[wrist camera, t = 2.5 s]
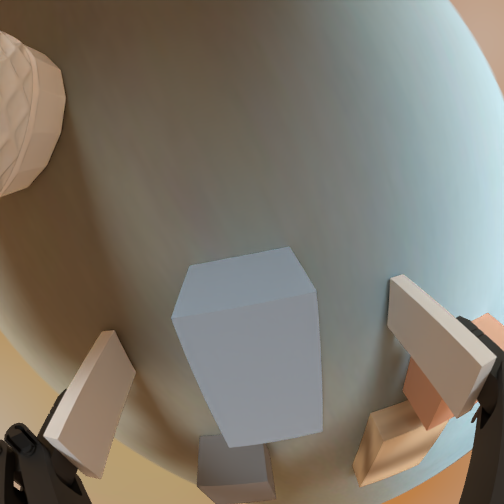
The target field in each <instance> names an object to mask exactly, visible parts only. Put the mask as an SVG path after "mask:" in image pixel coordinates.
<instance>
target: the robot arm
mask: <svg viewBox="0 0 504 504" xmlns="http://www.w3.org/2000/svg"><path fill="white" fill-rule="evenodd" d="M387 327H388V328H389V329H390V330H391V331H392V333H393V334H394V335H395V336H396V338H397V339H398V340H399V342H400V343H401V344H402V345H403V347H404V348H405V349H406V350H407V352H408V353H409V354H410V356H411V357H412V358H413V360H414V361H415V362H416V363H417V365H418V366H419V367H420V369H421V370H422V371H423V373H424V374H425V375H426V377H427V378H428V379H429V381H430V382H431V384H432V385H433V386H434V388H435V389H436V390H437V392H438V393H439V395H440V396H441V397H442V399H443V400H444V402H445V403H446V404H447V406H448V407H449V409H450V410H451V411H452V413H453V414H454V416H455V417H456V419H457V418H459V417H461V416H462V415H464V414H466V413H467V412H469V411H470V410H471V409H472V408H473V406H474V404H475V402H476V400H477V401H478V402H479V403H480V406H479V408H478V410H477V411H476V413H475V415H474V416H473V418H472V421H471V423H473V422H474V421H475V419H476V418H477V424H476V431H475V438H474V444H473V450H472V455H471V460H470V464H469V469H468V473H467V477H466V481H465V485H464V488H463V492H462V495H461V498H460V502H459V504H504V351H503V350H502V349H501V348H500V347H499V346H498V345H497V344H496V343H495V342H493V341H492V340H491V339H490V338H489V337H488V336H487V335H486V334H485V335H484V332H482V331H481V330H480V329H478V327H477V326H476V325H475V324H473V323H472V322H471V321H470V320H468V319H465V318H463V317H461V316H459V317H457V318H455V317H454V316H453V315H452V314H450V313H449V312H448V311H447V310H446V309H445V308H443V307H442V306H441V305H440V304H439V303H438V302H436V301H435V300H434V299H433V298H432V297H431V296H429V295H428V294H427V293H426V292H425V291H423V290H422V289H421V288H420V287H419V286H417V285H416V284H415V283H414V282H412V281H411V280H410V279H409V278H407V277H406V276H405V275H404V274H403V275H399V276H395V277H392V278H390V293H389V309H388V322H387ZM135 374H136V371H135V370H134V368H133V366H132V364H131V362H130V360H129V358H128V356H127V355H126V353H125V351H124V349H123V347H122V345H121V343H120V341H119V339H118V337H117V334H116V332H115V330H110V331H102V332H101V334H100V335H99V337H98V338H97V340H96V341H95V343H94V345H93V346H92V348H91V350H90V351H89V353H88V354H87V356H86V358H85V359H84V361H83V363H82V364H81V366H80V368H79V369H78V371H77V373H76V375H75V376H74V378H73V380H72V382H71V383H70V385H69V387H68V389H65V390H64V391H63V392H62V393H61V394H60V395H59V396H58V398H57V399H56V401H55V403H54V407H52V409H51V410H50V414H48V416H47V418H46V420H45V422H44V424H43V426H42V428H41V430H40V432H39V434H38V436H37V437H36V436H35V435H34V434H33V433H32V432H31V431H30V430H29V429H28V428H27V427H26V425H24V424H23V423H16V424H14V425H12V426H11V427H10V428H9V429H8V430H7V432H6V434H5V438H4V440H5V441H3V440H0V504H92V503H91V501H90V499H89V497H88V495H87V492H86V490H85V488H84V486H83V484H82V481H81V479H80V478H79V476H78V475H77V474H76V472H77V469H79V470H80V471H81V472H82V473H83V474H85V475H86V476H89V477H94V478H98V479H101V478H102V475H103V471H104V468H105V464H106V461H107V457H108V454H109V450H110V448H111V444H112V441H113V438H114V435H115V432H116V429H117V426H118V422H119V419H120V416H121V414H122V411H123V408H124V405H125V402H126V399H127V396H128V393H129V391H130V388H131V385H132V382H133V380H134V377H135ZM14 481H15V482H16V483H17V484H19V485H20V486H21V488H20V490H18V489H17V488H15V487H14V484H13V483H14Z"/></svg>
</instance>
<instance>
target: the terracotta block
mask: <svg viewBox="0 0 504 504" xmlns="http://www.w3.org/2000/svg"><path fill="white" fill-rule="evenodd" d="M471 322H472V323H473V324H475V325H476V326H477V327H478V329H480V330H481V331H482V332H484V335H485V334H486V335H487V336H488V337H489V338H490V339H491V340H492V341H493V342H495V343H496V344H497V345H498V346H499V347H500V348H501V349H502V350H503V351H504V326H503V325H502V324H501V323H500V322H499V321H497V320H496V319H495V318H494V317H492V316H491V315H490V314H489V313H486V314H484V315H483V316H481V317H479V318H477V319H475V320H473V321H471ZM402 391H403V393H404V394H405V396H406V397H407V399H408V401H409V402H410V404H411V406H412V407H413V409H414V411H415V412H416V414H417V416H418V417H419V419H420V421H421V422H422V424H423V426H424V427H425V429H426V431H428V430H430V429H432V428H434V427H436V426H438V425H439V424H441V423H443V422H445V421H447V420H449V419H450V418H452V417H454V414H453V413H452V411H451V410H450V409H449V407H448V406H447V404H446V403H445V402H444V400H443V399H442V397H441V396H440V395H439V393H438V392H437V390H436V389H435V388H434V386H433V385H432V384H431V382H430V381H429V379H428V378H427V377H426V375H425V374H424V373H423V371H422V370H421V369H420V367H419V366H418V365H417V363H416V362H415V361H414V360H413V358H412V357H410V362H409V366H408V371H407V375H406V379H405V383H404V387H403V390H402ZM477 402H478V401H477V400H476V402H475V403H477Z"/></svg>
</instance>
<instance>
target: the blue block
mask: <svg viewBox="0 0 504 504" xmlns="http://www.w3.org/2000/svg"><path fill="white" fill-rule="evenodd" d="M171 320H172V322H173V325H174V328H175V330H176V333H177V335H178V338H179V341H180V343H181V346H182V348H183V350H184V353H185V355H186V358H187V360H188V363H189V365H190V367H191V370H192V372H193V374H194V376H195V379H196V381H197V383H198V385H199V388H200V390H201V392H202V394H203V396H204V399H205V401H206V403H207V405H208V407H209V409H210V411H211V413H212V415H213V417H214V419H215V421H216V423H217V425H218V427H219V429H220V431H221V433H222V435H223V437H224V439H225V441H226V443H227V444H228V446H229V448H232V447H241V446H249V445H257V444H264V443H270V442H276V441H282V440H287V439H292V438H297V437H301V436H306V435H310V434H314V433H319V432H322V431H323V397H322V365H321V344H320V327H319V313H318V300H317V291H316V289H315V287H314V286H313V284H312V282H311V281H310V279H309V277H308V276H307V274H306V272H305V271H304V269H303V267H302V266H301V264H300V262H299V261H298V259H297V257H296V256H295V254H294V253H293V251H292V249H291V248H290V246H289V247H284V248H278V249H273V250H268V251H263V252H258V253H252V254H247V255H242V256H237V257H232V258H226V259H221V260H216V261H211V262H206V263H200V264H195V265H190V266H189V268H188V271H187V274H186V276H185V279H184V282H183V285H182V288H181V291H180V293H179V296H178V299H177V302H176V305H175V308H174V311H173V314H172V317H171Z"/></svg>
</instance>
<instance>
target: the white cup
mask: <svg viewBox="0 0 504 504" xmlns="http://www.w3.org/2000/svg"><path fill="white" fill-rule="evenodd" d="M65 102H66V95H65V90H64V85H63V79H62V73H61V70H60V69H59V68H58V67H57V66H56V65H55V64H54V63H53V62H52V61H51V60H50V59H49V58H48V57H47V56H46V55H45V54H43V53H41V52H39V51H37V50H35V49H32V48H30V47H28V46H26V45H24V44H23V43H22V42H21V41H19V40H18V39H16V38H15V37H13V36H11V35H9V34H7V33H5V32H3V31H0V197H3V196H5V195H8V194H11V193H14V192H16V191H19V190H22V189H25V188H27V187H29V186H30V184H31V183H32V182H33V181H34V180H35V178H36V177H37V176H38V175H39V174H40V173H41V172H42V170H43V169H44V168H45V167H46V166H47V164H48V162H49V159H50V157H51V155H52V152H53V150H54V148H55V145H56V143H57V141H58V138H59V136H60V134H61V129H62V122H63V115H64V108H65Z"/></svg>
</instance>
